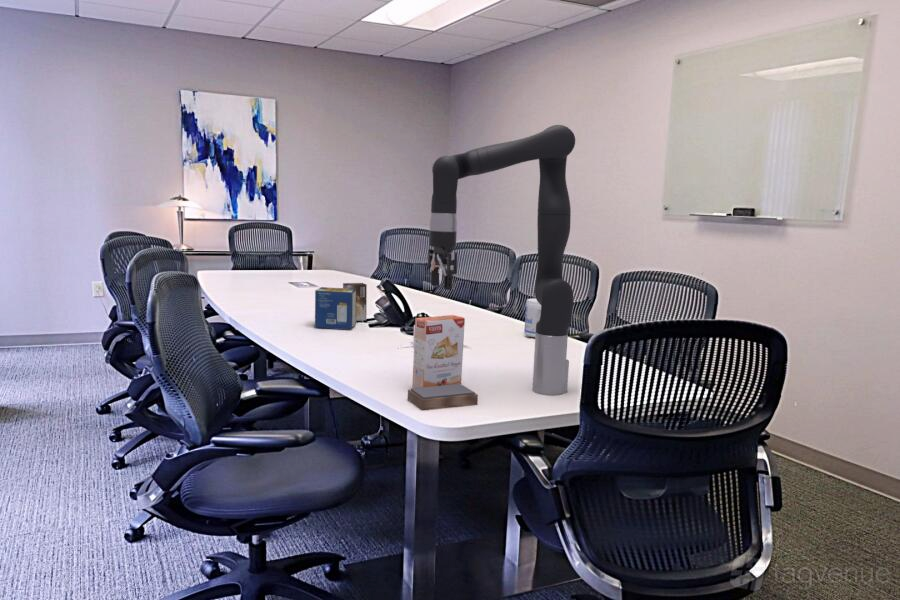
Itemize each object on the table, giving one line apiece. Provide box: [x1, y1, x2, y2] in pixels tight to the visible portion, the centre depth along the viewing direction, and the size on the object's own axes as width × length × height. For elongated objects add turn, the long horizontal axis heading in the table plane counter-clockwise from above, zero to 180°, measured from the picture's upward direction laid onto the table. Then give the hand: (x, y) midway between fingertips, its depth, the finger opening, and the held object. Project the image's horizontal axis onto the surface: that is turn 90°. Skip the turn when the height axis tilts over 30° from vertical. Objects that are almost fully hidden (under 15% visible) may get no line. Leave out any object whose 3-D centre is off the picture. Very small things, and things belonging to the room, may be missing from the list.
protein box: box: [314, 286, 357, 330], centre depth 284 cm, size 10×15×16 cm
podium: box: [407, 383, 479, 411], centre depth 183 cm, size 16×10×4 cm, turn 116°
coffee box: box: [342, 282, 368, 322], centre depth 300 cm, size 9×6×16 cm
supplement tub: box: [523, 298, 541, 338], centre depth 280 cm, size 10×10×15 cm
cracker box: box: [412, 314, 466, 388], centre depth 195 cm, size 14×6×21 cm, turn 129°
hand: (441, 287), depth 192 cm, fingers open, 8 cm apart
